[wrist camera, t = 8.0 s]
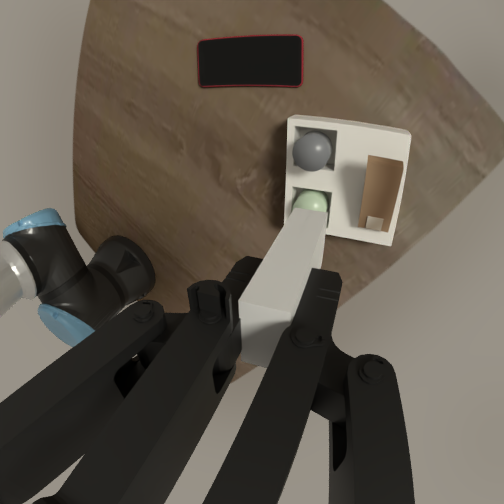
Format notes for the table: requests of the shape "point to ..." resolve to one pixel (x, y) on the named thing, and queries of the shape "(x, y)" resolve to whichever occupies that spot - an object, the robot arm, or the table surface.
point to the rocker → (380, 192)
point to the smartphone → (251, 61)
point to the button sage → (312, 200)
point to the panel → (345, 171)
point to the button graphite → (312, 151)
